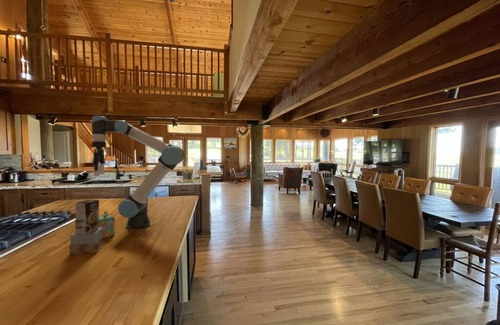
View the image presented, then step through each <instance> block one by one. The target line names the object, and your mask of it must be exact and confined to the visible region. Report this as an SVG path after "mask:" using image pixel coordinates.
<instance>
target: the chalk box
mask: <svg viewBox="0 0 500 325" xmlns="http://www.w3.org/2000/svg"><path fill="white" fill-rule="evenodd" d="M115 223H116V221H115V216H113V215H112V214H108V211H106V210H105V211H104V212H103V215H99V228H100V227H103V231H102V236H103V239H104V238H109V237H114V236H115Z"/></svg>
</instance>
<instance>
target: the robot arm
mask: <svg viewBox="0 0 500 325" xmlns="http://www.w3.org/2000/svg"><path fill="white" fill-rule="evenodd" d="M91 119H92V120H91V135H90V137H91V141H92V142H91V147H92V148H94V149H93V158H92V159H93V160H92V164H91V166H93V177H100V175H104V174H105V165H106V161H105V153H104V152H105V148H107V142H106V141H107V133H118V134H122V135H125V136H127V137H129V138H131V139H133V140H135V141H137V142H138V143H141V144H143V145H145V146H147V147H149V148H150V149H152V150H154V151H156V152H158V153H161V155H160V156H159V157H158V158H157V163H156V165H155V166H154V167H153V169H151V171H150V172H149V173H148V174H147V176H146V177H145V178H144V179H143V181H141V183H140V184H139V185H138V187H137V188H136V189H135V190H134V191H131V192H129V194H127V196H126V198H124V199H123V200H121V201H120V203H119V204H118V207H117V210H118V213H119V215H121V216H122V217H123V218H127V221H126V224H125V225H126V226H125V227H126V229H130V230H138V229H145V228H147V227H149V225H150V226H151V220H150V217H149V214H148V211H149V210H148V206H149V205H148V202H149V200H148V199H149V196H151V194H152V193H153V191H155V189H156V188H157V187H158V185H159V184H160V183H161V182H162V180H163V179H164V178H165V177H166V175H168V173H169V172H170V171H174V169H175V168H176V167H177V166H178V165H179V164H180V163H182V162H183V160H184V159H185V151H184V150H183V148H181V147H179V146H176V145H173V144H172V143H166V142H164V141H162V140H161V139H158V138H156V137H154V136H153V135H150V134H149V133H146V131H145V132H144V131H143V130H141V129H139V128H138V127H135V126H133V125H131V124H130V123H128V122H127V121H125V120H120V119H117V120H116V119H107V117H106V116H104V115H103V116H102V115H93V116H92V118H91Z"/></svg>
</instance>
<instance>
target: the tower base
mask: <svg viewBox="0 0 500 325" xmlns="http://www.w3.org/2000/svg"><path fill="white" fill-rule="evenodd" d="M103 244H104V238H103V236H102V237H101V238H100V239H99V240H98V242H97V243H96V244H83V245H71V244H70V245H69V256H74V255H75V256H77V255H86V254H95V252H96V253H98V252H99V251H100V249H101V248H102V246H103Z"/></svg>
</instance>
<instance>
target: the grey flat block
mask: <svg viewBox="0 0 500 325" xmlns="http://www.w3.org/2000/svg"><path fill="white" fill-rule="evenodd" d="M102 231H103V227H100V228H99V229H98V230H96V231H93V232H91V233H89V234H86V235H85V234H75V232H74V233H72V234H71V235H70V245H83V244H96V243H97V242H98V240H99V239H100V238H101V237H102Z"/></svg>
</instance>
